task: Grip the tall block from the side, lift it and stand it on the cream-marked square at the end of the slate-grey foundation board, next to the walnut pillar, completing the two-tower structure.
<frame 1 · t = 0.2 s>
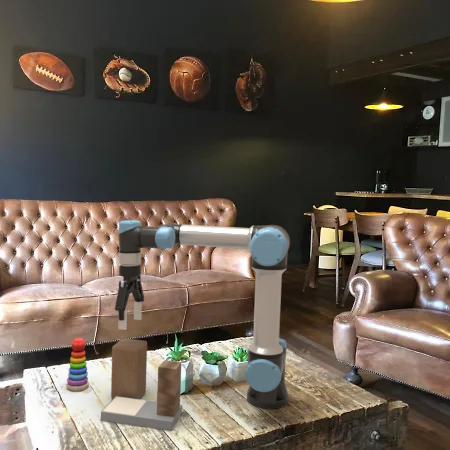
hand: (130, 324, 177), 27 cm above the table, tool pointing down, fingers open, 13 cm apart
foundation: (142, 416, 166), on the table
block: (128, 397, 181), on the table
stacking toy: (77, 387, 187), on the table
walnut pillar: (168, 420, 165), resting on foundation
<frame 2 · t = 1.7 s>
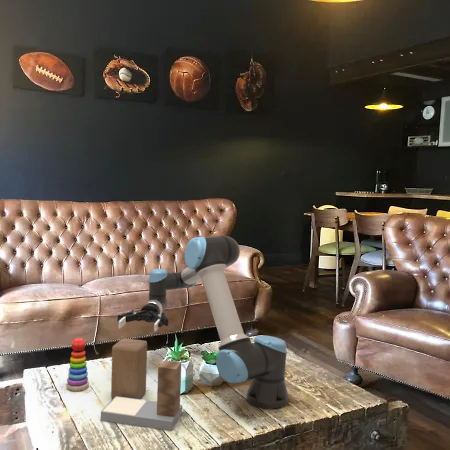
hand: (137, 326, 187), 23 cm above the table, tool horizontal, fingers open, 13 cm apart
nothing on the table moved.
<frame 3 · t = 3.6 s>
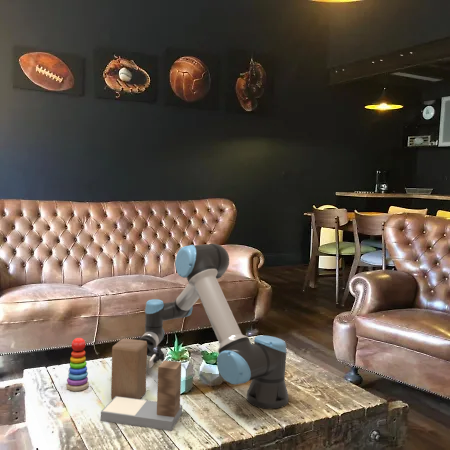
hand: (132, 362, 185), 11 cm above the table, tool horizontal, fingers open, 13 cm apart
nothing on the table moved.
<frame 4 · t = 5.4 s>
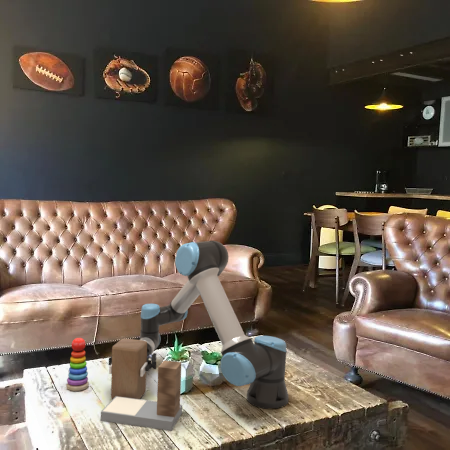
hand: (125, 371, 176), 11 cm above the table, tool horizontal, fingers closed on block, 11 cm apart
block: (128, 397, 181), on the table, touching gripper
everything else where it was.
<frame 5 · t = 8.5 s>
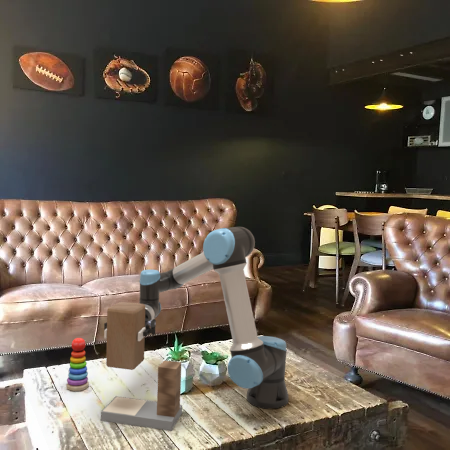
hand: (122, 335, 163), 28 cm above the table, tool horizontal, fingers closed on block, 11 cm apart
block: (125, 364, 168), point 17 cm above the table, touching gripper
everything else where it was.
when the fingers open (15 cm above the table, at t = 11.6 s): block drops 1 cm, resting on foundation.
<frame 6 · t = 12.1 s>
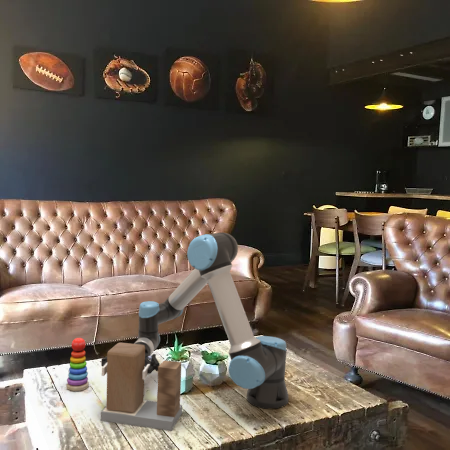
hand: (123, 373, 163), 15 cm above the table, tool horizontal, fingers open, 13 cm apart
block: (125, 406, 167), point 3 cm above the table, touching foundation
everything else where it was.
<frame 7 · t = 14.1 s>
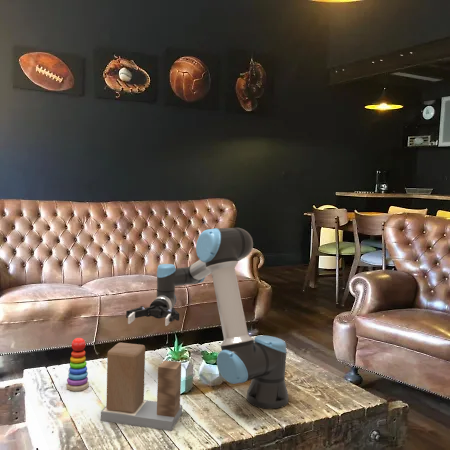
hand: (147, 321, 180), 28 cm above the table, tool horizontal, fingers open, 13 cm apart
nothing on the table moved.
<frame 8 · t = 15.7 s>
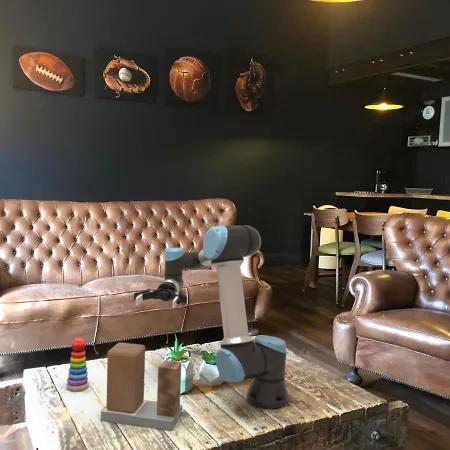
hand: (155, 303, 181), 34 cm above the table, tool horizontal, fingers open, 13 cm apart
nothing on the table moved.
at the end: block inside the target area on the foundation (0.0 cm from its centre), point 2.9 cm above the foundation's base; block tilted 0°; block touching foundation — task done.
